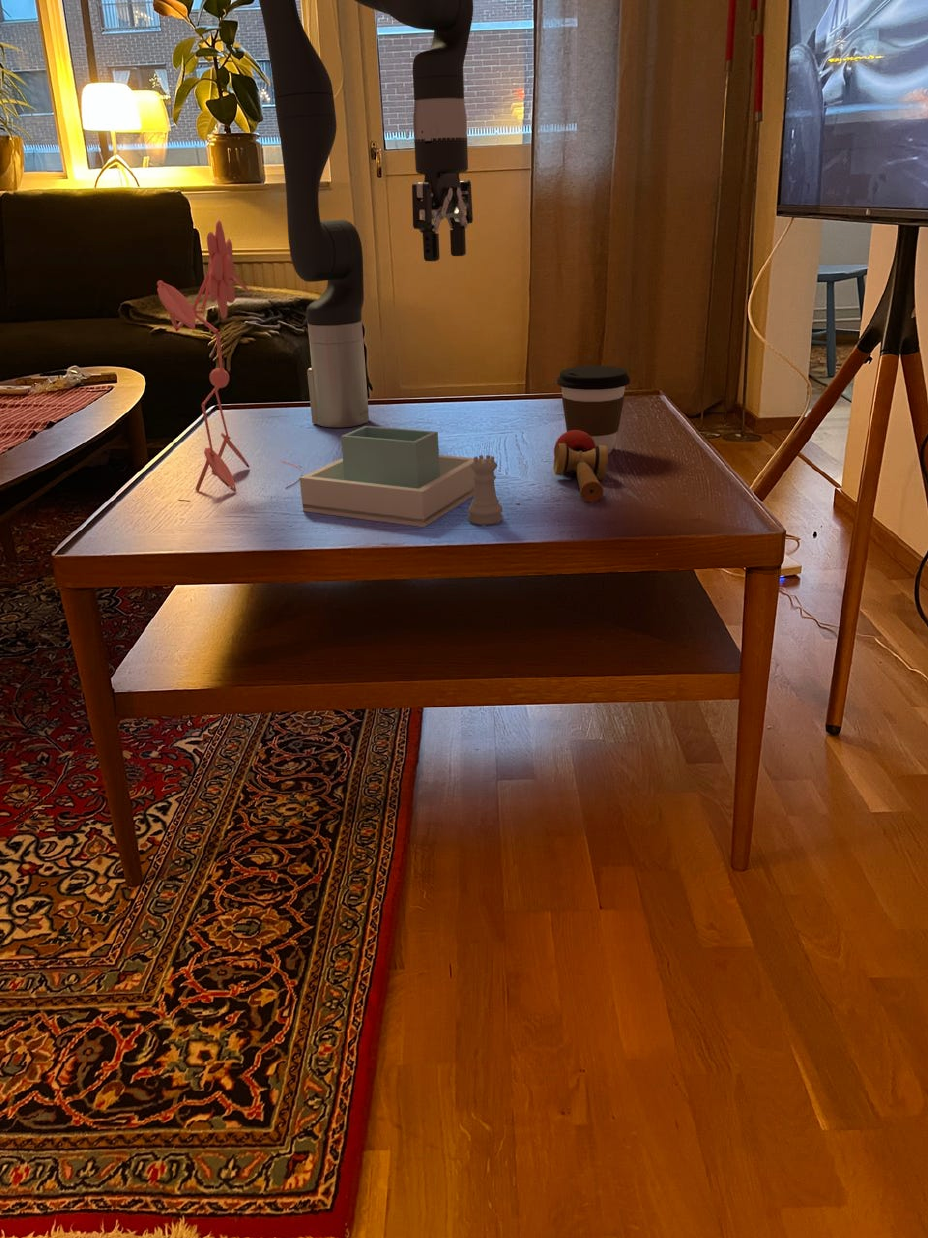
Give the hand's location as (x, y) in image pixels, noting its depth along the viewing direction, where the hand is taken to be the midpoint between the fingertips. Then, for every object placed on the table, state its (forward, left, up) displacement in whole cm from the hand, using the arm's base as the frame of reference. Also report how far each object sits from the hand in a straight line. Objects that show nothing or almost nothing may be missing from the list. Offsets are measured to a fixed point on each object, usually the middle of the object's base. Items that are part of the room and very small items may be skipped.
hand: (445, 258), depth 145 cm
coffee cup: (+22, +4, -28) cm, 36 cm away
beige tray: (+6, -29, -28) cm, 41 cm away
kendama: (+27, -12, -28) cm, 41 cm away
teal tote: (+6, -29, -27) cm, 40 cm away
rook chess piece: (+21, -32, -28) cm, 48 cm away
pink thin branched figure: (-19, -28, -28) cm, 44 cm away
